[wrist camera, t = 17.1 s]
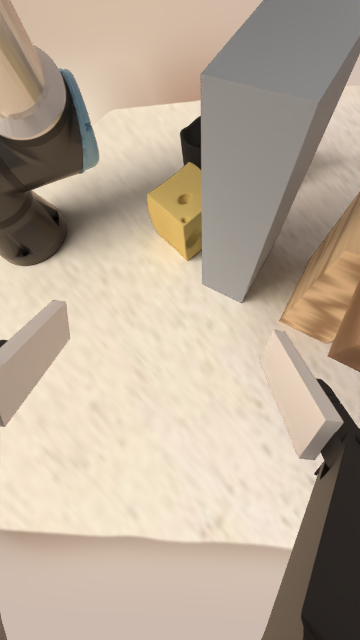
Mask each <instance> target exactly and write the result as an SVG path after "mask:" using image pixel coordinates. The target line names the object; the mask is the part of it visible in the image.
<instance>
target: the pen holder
mask: <svg viewBox="0 0 360 640" xmlns="http://www.w3.org/2000/svg"><path fill="white" fill-rule="evenodd" d="M180 137H181V146H182V154H183V162H184V166H185V165H186V164H187V163H189V162H190V163H192V164H194V165H196V166H197V167H198V168H199V169H200V170H201V116H200V117H198V118H197V119H195V120H194V121H193V122H192V123H191V124H190V125H189V126H188V127H186V128H184V129H182V130H181V132H180Z"/></svg>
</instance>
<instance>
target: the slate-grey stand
mask: <svg viewBox="0 0 360 640" xmlns="http://www.w3.org/2000/svg"><path fill="white" fill-rule="evenodd" d="M359 54H360V0H263V1H262V3H261V4H260V5H259V6H258V7H257V9H256V10H255V11H254V12H253V13H252V14H251V15H250V17H249V18H248V19H247V20H246V21H245V23H244V24H243V25H242V26H241V27H240V29H239V30H238V31H237V32H236V33H235V34H234V36H233V37H232V38H231V39H230V40H229V41H228V43H227V44H226V45H225V46H224V47H223V49H222V50H221V51H220V52H219V53H218V54H217V56H216V57H215V58H214V59H213V60H212V61H211V63H210V64H209V65H208V66H207V67H206V68H205V70H204V71H203V72H202V73H201V194H202V284H203V285H205V286H207V287H209V288H211V289H213V290H215V291H218V292H220V293H222V294H224V295H226V296H228V297H230V298H232V299H234V300H236V301H238V302H240V303H242V301H243V300H244V298H245V296H246V294H247V292H248V291H249V289H250V287H251V285H252V283H253V282H254V280H255V278H256V276H257V274H258V273H259V271H260V269H261V267H262V265H263V264H264V262H265V260H266V258H267V256H268V255H269V253H270V251H271V249H272V247H273V246H274V244H275V241H276V239H277V237H278V235H279V233H280V230H281V228H282V226H283V224H284V221H285V219H286V217H287V215H288V212H289V210H290V208H291V206H292V204H293V201H294V199H295V197H296V195H297V192H298V190H299V188H300V186H301V183H302V181H303V179H304V177H305V175H306V172H307V170H308V168H309V166H310V163H311V161H312V159H313V157H314V154H315V152H316V150H317V148H318V145H319V143H320V141H321V139H322V137H323V134H324V132H325V130H326V128H327V125H328V123H329V121H330V119H331V116H332V114H333V112H334V110H335V108H336V105H337V103H338V101H339V99H340V96H341V94H342V92H343V90H344V87H345V85H346V83H347V81H348V79H349V76H350V74H351V72H352V70H353V67H354V65H355V63H356V61H357V58H358V56H359Z"/></svg>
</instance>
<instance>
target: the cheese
mask: <svg viewBox="0 0 360 640" xmlns="http://www.w3.org/2000/svg"><path fill="white" fill-rule="evenodd" d="M147 201H148V210H149V214H150V217H151V221H152V223H153V226H154V228H155V229H156V231H157V233H158V234H159V235H160V236H161V237H162V238H163V239H165V240H166V241H167V242H168V243H169V244H170V245H171V246H173V247H174V248H175V249H176V250H177V251H178V252H179V253H180V254H181V255H182V256H183V257H184V258H185V259H186V260H187V261H188V260H189V259H190V258H192V257H193V256H194V255H196V254H197V253H198V252H199V251H200V250H201V249H202V194H201V170H200V169H199V168H198V167H197V166H196V165H194V164H192V163H190V162H189V163H187V164H186V165H185V166H184V167H183V168H181V169H180V170H179V171H178V172H177V173H176V174H175V175H173V176H172V177H171V178H169V179H168V180H167V181H165V182H164V183H163V184H161V185H160V186H159V187H157V188H156V189H154V190H153V191H151V192H150V193H148V194H147Z"/></svg>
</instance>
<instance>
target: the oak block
mask: <svg viewBox="0 0 360 640" xmlns="http://www.w3.org/2000/svg"><path fill="white" fill-rule="evenodd" d="M359 279H360V192H359V194H358V195H357V196H356V198H355V199H354V200H353V202H352V203H351V204H350V206H349V207H348V208H347V210H346V211H345V212H344V214H343V215H342V216H341V218H340V219H339V221H338V222H337V223H336V225H335V226H334V227H333V229H332V230H331V231H330V233H329V234H328V235H327V237H326V238H325V239H324V241H323V242H322V243H321V245H320V246H319V247H318V249H317V250H316V252H315V253H314V254H313V256H312V257H311V258H310V260H309V262H308V264H307V266H306V268H305V270H304V272H303V274H302V276H301V278H300V280H299V282H298V284H297V286H296V288H295V290H294V292H293V294H292V296H291V298H290V300H289V302H288V304H287V306H286V308H285V310H284V312H283V314H282V316H281V318H280V320H279V321H280V322H282V323H284V324H286V325H288V326H290V327H293V328H295V329H297V330H299V331H301V332H303V333H305V334H307V335H309V336H311V337H313V338H315V339H317V340H320V341H322V342H324V343H326V344H327V343H329V342H331V341H333V340H334V339H335V337H336V334H337V332H338V330H339V327H340V325H341V322H342V320H343V318H344V315H345V313H346V310H347V308H348V306H349V303H350V301H351V299H352V296H353V294H354V291H355V289H356V287H357V284H358V282H359Z"/></svg>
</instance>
